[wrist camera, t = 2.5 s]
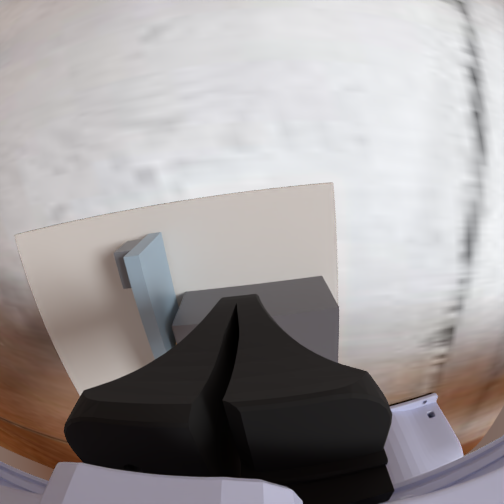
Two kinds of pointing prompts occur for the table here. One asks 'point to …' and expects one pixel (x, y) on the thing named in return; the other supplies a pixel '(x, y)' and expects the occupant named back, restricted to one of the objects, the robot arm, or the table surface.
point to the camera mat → (170, 266)
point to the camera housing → (276, 311)
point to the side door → (150, 288)
